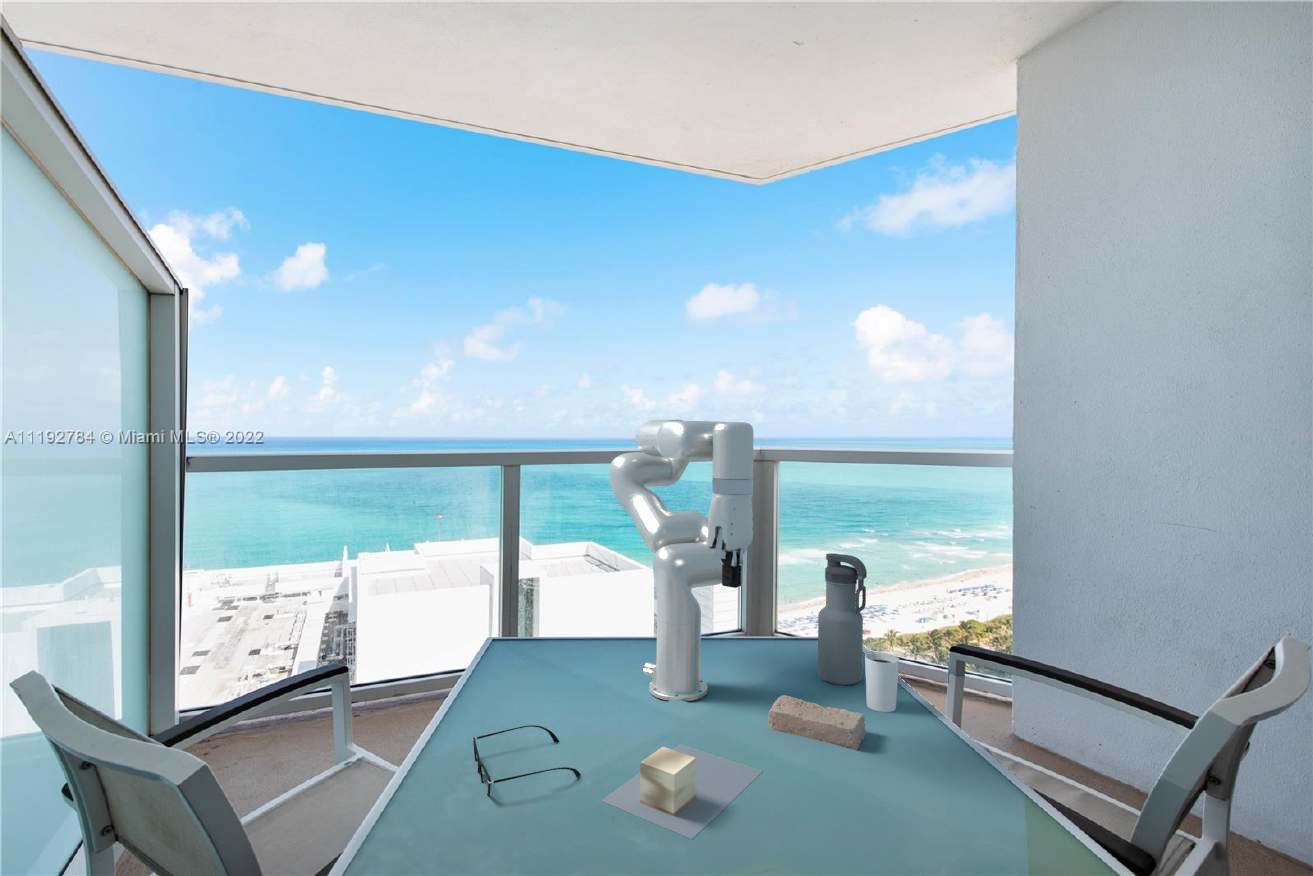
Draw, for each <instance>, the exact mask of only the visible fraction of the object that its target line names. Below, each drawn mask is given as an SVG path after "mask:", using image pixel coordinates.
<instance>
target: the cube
mask: <svg viewBox="0 0 1313 876" xmlns="http://www.w3.org/2000/svg"><path fill="white" fill-rule="evenodd" d="M672 749H673V748H672ZM672 749H671V748H669V747H665V746H661V747H659V749H657V750H656V751H654V752H653V753H652V754H650V755H649V756H647V757H646V758H644V759H642V760H641V761H640V763H639V765H640V766H639V767H640V769H639V773H640V803H643V804H645V805H647V806H650V807H652V808H655V809H657V810H660V811H662V812H665V813H667V814H670V815H672V816H674V815H676V814H677V813H678V812H679V811H680V810H681V809H682V808H684V807H685V806H686V805H687V804H688V803H689V802H690V801H692V800H693V799H694V798H695V781H696V758H695V757H692V756H689V755H686V754H683V753H680V752H677V751H674V750H672Z"/></svg>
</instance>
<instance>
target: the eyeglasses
mask: <svg viewBox="0 0 1313 876" xmlns="http://www.w3.org/2000/svg"><path fill="white" fill-rule="evenodd" d="M527 727H529V728H531V727H533V728H539V729H542V730H544V731H546V732H547V733H548V734H549V735H550V737H551V739H552V741H553V743H556V742H557V743H560V740H559V738H558V737H557V736H556V734H555V733H554V732H552V731H551V730H550V729H548V728H546V727H543V726H541V725H532V724H531V725H530V724H529V725H523V726H518V727H514V728H509V729H505V730H502V731H497V732H493V733H489V734H484V735H480V736H476V737H475V736H473V737H472V738H471V739H472V743H473V754H474V762H477V772H478V773H479V774H480V775H479V776H480V781H481V784H484V778H483V777H484V776H483V775H484V774H485V776H486V780H487V793H486V795H487V796H489V797H490V795H491V787H492V786H491V785H493V784H497V783H501V782H506V781H509V780H514V779H515V780H516V779H518V778H519V779H520V778H522V777H527V776H531V775H536V774H540V773H545V772H549V771H550V772H551V771H556V770H569V771H571V772H572V773H573V774H574V775H575V777H579V776H580V775H581V773H580V772H579V770H578V769H577V768H575V767H574V768H573V767H566V766H564V767H563V766H562V767H555V768H549V769H545V770H539V771H533V772H530V773H525V774H520V775H516V776H511V777H507V778H506V777H505V778H500V779H496V780H492V778H491V777H490V774H489V773H488V770H487V768H486V766H485V764H484V763H483V762H482V761H481V760H480V754H479V750H478V746H477V741H476V740H480V739H484V738H488V737H491V736H494V735H499V734H503V733H507V732H510V731H514V730H515V731H516V730H519V729H523V728H527Z"/></svg>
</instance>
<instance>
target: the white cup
mask: <svg viewBox="0 0 1313 876" xmlns="http://www.w3.org/2000/svg"><path fill="white" fill-rule="evenodd" d="M864 655H865V656H864V661H865V662H864V663H865V664H864V665H865V667H864V668H865V670H864V671H865V693H866V696H865V699H866V707H867V708H869V709H871V710H873V711H876V712H882V713H890V712H891V713H892V712H895V711H896V710H897V696H898V682H899V681H898V680H899V664H900V658H899V657H897V656H896V655H894V654H892V653H888V652H883V651H882V652H881V651H873V652H871V651H870V652H868V653H866V654H864Z"/></svg>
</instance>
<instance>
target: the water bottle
mask: <svg viewBox="0 0 1313 876" xmlns="http://www.w3.org/2000/svg"><path fill="white" fill-rule="evenodd" d="M825 560H827V564H826V567H825V568H824V571H825V572H824V578H825V579H824V581H825V585H826V586H825V607H823V608H821V609H820V611H819V613H818V617H817V618H818V622H817V624H818V628H817V629H818V630H817V633H818V634H817V635H818V636H817V675H818V676H819V678H820V679H822V681H825V682H827V683H829V682H830V684H833V685H837V684H838V685H839V686H850V685H851V686H853V685H855V684H858V683H860V682H861V680H862V679H863V649H864V647H863V645H864V644H863V641H864V640H863V639H864V638H863V637H864V635H863V634H864V633H863V631H864V627H863V626H864V623H863V621H864V619H863V615H862V613H861V612H862V611H864V609H866V603H867V602H866V601H867V599H866V598H867V595H866V593H867V588H866V586H865V585H864V584H865V581H864V580H865V579H866V578H867V575H868V574H867V568H866V566H865V564H864V563H863V562H862V561H861V559H859V558H858V557H856V556H854V555H849V554H843V553H842V554H841V553H826V554H825ZM842 563H844V564H842ZM845 563H846V564H848V565H845ZM861 592H862V598H861V599H862V602H861V606H860V593H861Z"/></svg>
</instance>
